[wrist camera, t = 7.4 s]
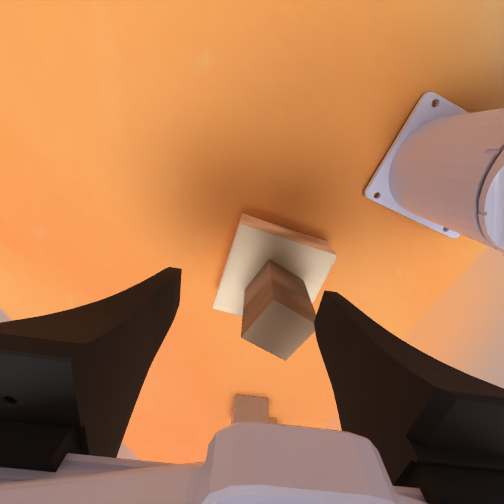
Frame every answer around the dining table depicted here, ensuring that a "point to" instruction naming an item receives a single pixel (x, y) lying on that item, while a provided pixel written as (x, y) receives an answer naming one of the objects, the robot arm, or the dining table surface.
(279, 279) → the walnut block
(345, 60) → the dining table surface
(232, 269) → the birch block
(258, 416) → the grey block
